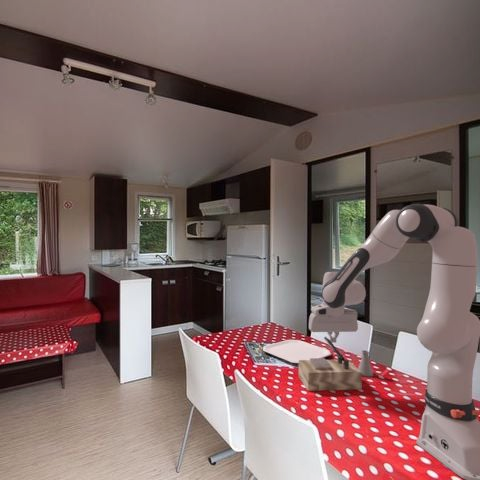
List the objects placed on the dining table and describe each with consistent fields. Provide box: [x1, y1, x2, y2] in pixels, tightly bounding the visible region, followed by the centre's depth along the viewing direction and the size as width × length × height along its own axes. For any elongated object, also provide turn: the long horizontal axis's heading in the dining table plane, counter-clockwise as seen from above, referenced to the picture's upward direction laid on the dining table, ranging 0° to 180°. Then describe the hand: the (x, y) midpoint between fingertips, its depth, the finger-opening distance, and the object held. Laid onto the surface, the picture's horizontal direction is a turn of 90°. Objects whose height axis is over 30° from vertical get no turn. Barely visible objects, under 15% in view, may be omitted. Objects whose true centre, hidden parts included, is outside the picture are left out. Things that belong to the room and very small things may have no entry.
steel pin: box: [310, 357, 330, 369], centre depth 131 cm, size 6×6×8 cm
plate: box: [262, 339, 332, 365], centre depth 165 cm, size 29×29×2 cm
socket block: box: [297, 353, 363, 392], centre depth 132 cm, size 22×13×10 cm, turn 96°
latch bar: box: [323, 336, 345, 362], centre depth 132 cm, size 12×4×1 cm
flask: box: [357, 350, 374, 378], centre depth 142 cm, size 7×7×10 cm
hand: (333, 342), depth 132 cm, fingers closed
